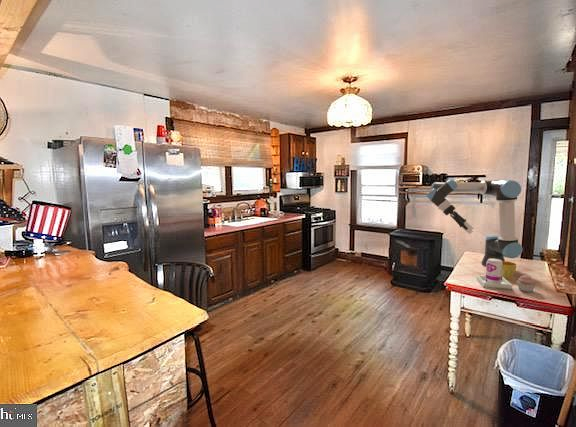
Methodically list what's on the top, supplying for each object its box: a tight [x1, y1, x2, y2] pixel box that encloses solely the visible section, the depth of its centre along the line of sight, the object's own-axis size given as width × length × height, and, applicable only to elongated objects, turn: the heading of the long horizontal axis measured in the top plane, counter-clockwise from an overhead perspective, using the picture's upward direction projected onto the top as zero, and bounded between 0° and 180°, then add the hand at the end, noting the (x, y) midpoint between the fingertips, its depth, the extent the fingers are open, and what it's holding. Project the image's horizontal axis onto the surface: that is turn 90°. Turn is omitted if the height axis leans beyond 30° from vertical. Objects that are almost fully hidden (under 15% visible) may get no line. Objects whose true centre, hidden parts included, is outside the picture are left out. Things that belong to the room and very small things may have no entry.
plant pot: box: [502, 260, 517, 280], centre depth 195 cm, size 10×10×10 cm
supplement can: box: [485, 258, 503, 284], centre depth 182 cm, size 8×8×15 cm
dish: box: [476, 275, 513, 291], centre depth 183 cm, size 15×15×3 cm
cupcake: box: [515, 273, 537, 293], centre depth 172 cm, size 9×9×10 cm
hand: (471, 231), depth 193 cm, fingers open, 13 cm apart
